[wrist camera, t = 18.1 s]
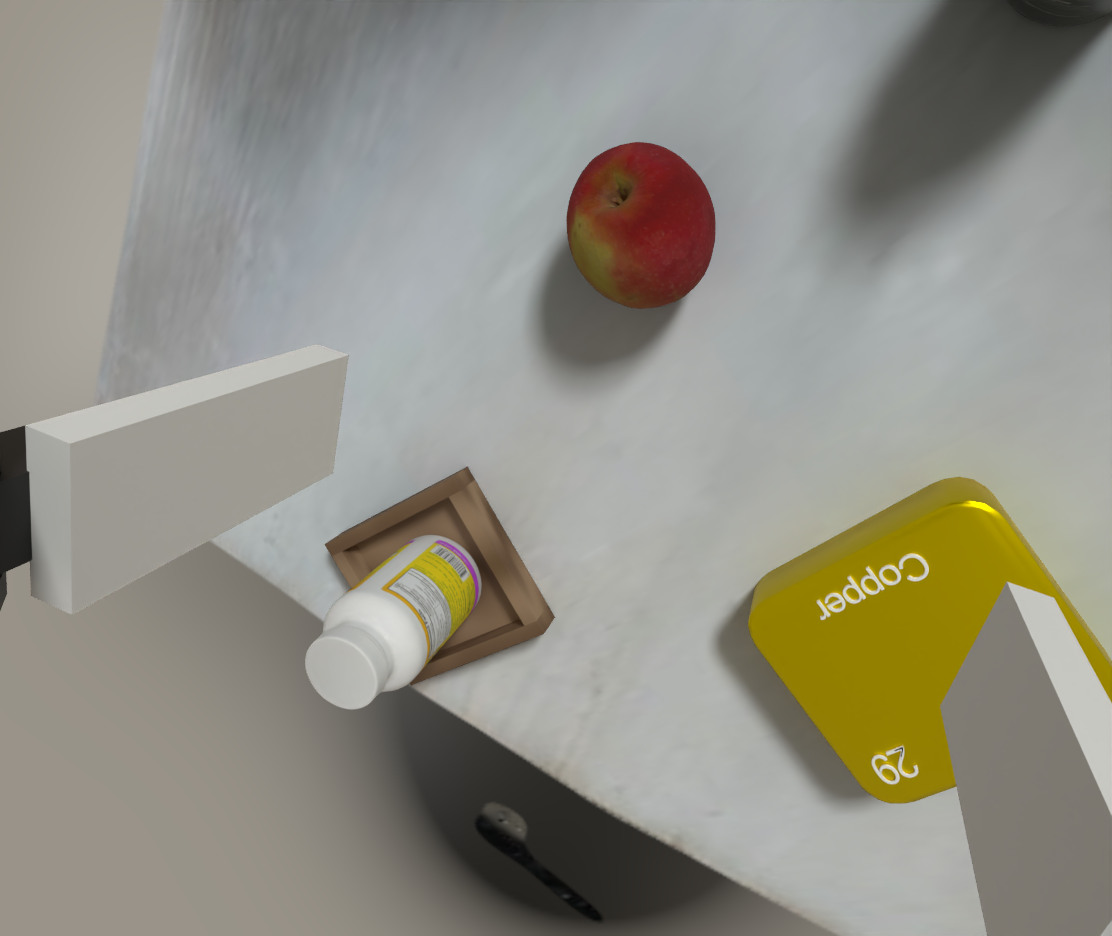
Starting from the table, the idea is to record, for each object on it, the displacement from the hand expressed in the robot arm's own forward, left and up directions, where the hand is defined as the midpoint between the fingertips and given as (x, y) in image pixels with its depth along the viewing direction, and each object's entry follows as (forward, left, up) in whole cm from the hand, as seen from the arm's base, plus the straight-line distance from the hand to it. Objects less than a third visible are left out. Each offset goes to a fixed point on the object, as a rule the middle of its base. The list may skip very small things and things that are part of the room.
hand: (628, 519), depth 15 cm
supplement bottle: (+6, -27, -31) cm, 42 cm away
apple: (-7, -3, -32) cm, 33 cm away
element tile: (+21, 0, -32) cm, 39 cm away
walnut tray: (+6, -28, -32) cm, 42 cm away
